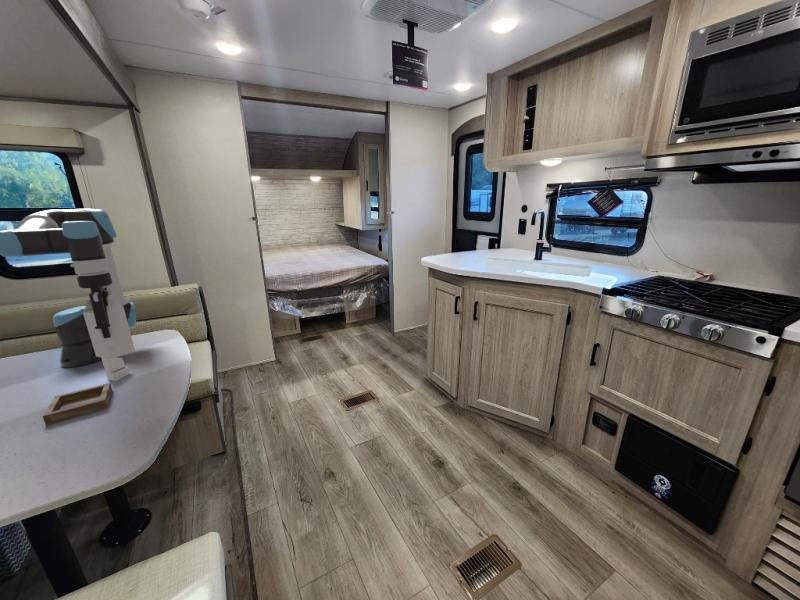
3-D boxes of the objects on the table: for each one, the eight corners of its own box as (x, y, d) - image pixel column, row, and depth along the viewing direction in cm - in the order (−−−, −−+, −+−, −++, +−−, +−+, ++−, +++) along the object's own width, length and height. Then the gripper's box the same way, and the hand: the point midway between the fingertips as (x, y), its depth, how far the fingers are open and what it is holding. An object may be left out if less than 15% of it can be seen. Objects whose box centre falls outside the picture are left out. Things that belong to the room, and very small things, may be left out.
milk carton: (135, 350, 106) (120, 295, 101) (110, 359, 100) (93, 301, 94) (121, 348, 108) (105, 293, 103) (96, 357, 102) (78, 299, 97)
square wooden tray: (57, 404, 107) (54, 396, 107) (112, 390, 115) (110, 382, 114) (45, 425, 96) (42, 416, 96) (107, 408, 104) (104, 400, 103)
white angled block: (93, 380, 118) (100, 356, 120) (121, 380, 128) (127, 358, 130) (101, 380, 117) (108, 356, 119) (128, 381, 127) (134, 359, 129)
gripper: (83, 270, 103) (101, 334, 109) (67, 280, 86) (91, 356, 92) (113, 267, 108) (130, 329, 114) (104, 277, 90) (124, 349, 96)
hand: (112, 341), depth 103 cm, fingers closed on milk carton, 10 cm apart
